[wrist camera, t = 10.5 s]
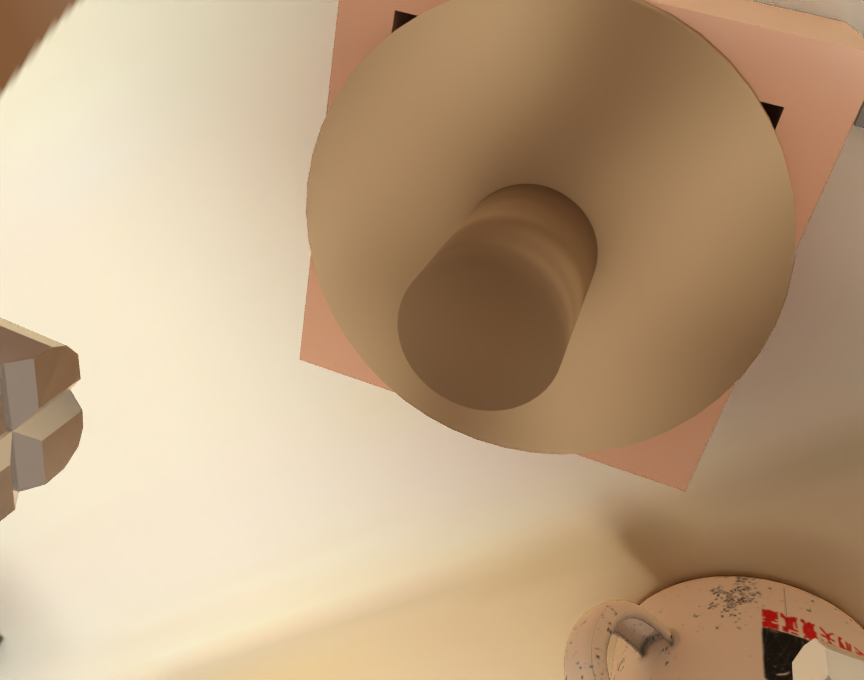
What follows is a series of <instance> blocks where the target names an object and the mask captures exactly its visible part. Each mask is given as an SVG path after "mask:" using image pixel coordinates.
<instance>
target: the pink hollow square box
mask: <svg viewBox="0 0 864 680" xmlns="http://www.w3.org/2000/svg"><path fill="white" fill-rule="evenodd" d="M448 1H450V0H339V5H338V14H337V23H336V32H335V41H334V50H333V59H332V69H331V78H330V87H329V96H328V105H327V114H328V111H329V109H330V107H331V105H332V103H333V101H334V99H335V98H336V96H337V95H338V93H339V91H340V90H341V88H342V87H343V85H344V84H345V82H346V81H347V79H348V78H349V76H350V75H351V73H352V72H353V71H354V70H355V69H356V68H357V67H358V65H359V64H360V63H361V62H362V61H363V60H364V59H365V57H366V56H367V55H368V54H369V53H370V52H371V51H372V50H373V49H374V48H375V47H376V46H378V45H379V44H380V43H381V42H382V41H383V40H385V39H386V38H387V37H388V36H389V35H390V34H392V33H393V32H394V31H395V30H396V29H398V28H400V27H401V26H403V25H404V24H406V23H408V22H409V21H411V20H412V19H414V18H415V17H417V16H419V15H420V14H422V13H423V12H425V11H428V10H430V9H432V8H434V7H437V6H439V5H441V4H443V3H446V2H448ZM644 1H646V2H648V3H650V4H652V5H654V6H656V7H658V8H660V9H662V10H665V11H667V12H669V13H671V14H673V15H674V16H676V17H677V18H678V19H680V20H681V21H683V22H684V23H686V24H687V25H689V26H690V27H692V28H693V29H695V30H696V31H698V32H699V33H701V34H702V35H703V36H704V37H705V38H706V39H708V40H709V41H710V42H711V43H712V44H713V45H714V46H715V47H716V48H717V49H718V50H720V51H721V52H722V53H723V54H724V55H725V56H726V57H727V58H728V59H729V60H730V61H731V62H732V63H733V65H734V66H735V67H736V68H737V70H738V71H739V72H740V73H741V75H742V76H743V77H744V78H745V80H746V81H747V82H748V83H749V84H750V86H751V87H752V89H753V90H754V92H755V94H756V95H757V97H758V99H759V100H760V102H761V104H762V106H763V107H764V109H765V111H766V112H767V114H768V116H769V117H770V120H771V122H772V125H773V127H774V130H775V132H776V135H777V137H778V140H779V142H780V145H781V147H782V150H783V154H784V158H785V162H786V166H787V170H788V174H789V179H790V183H791V187H792V191H793V196H794V208H795V220H796V241H795V250H796V248H797V245H798V243H799V241H800V239H801V237H802V234H803V232H804V230H805V228H806V226H807V223H808V221H809V219H810V217H811V215H812V212H813V210H814V208H815V206H816V204H817V202H818V199H819V197H820V195H821V193H822V191H823V188H824V186H825V184H826V182H827V180H828V177H829V175H830V173H831V171H832V169H833V166H834V164H835V162H836V160H837V158H838V155H839V153H840V151H841V149H842V147H843V145H844V142H845V140H846V138H847V136H848V134H849V131H850V129H851V127H852V125H853V123H854V120H855V118H856V116H857V114H858V112H859V109H860V107H861V105H862V103H863V101H864V37H863V36H861V35H860V34H859V33H858V32H857V31H856V30H854V29H853V28H852V27H851V26H850V25H849V24H848V23H846V22H843V21H838V20H834V19H830V18H825V17H821V16H816V15H812V14H808V13H803V12H799V11H794V10H790V9H786V8H781V7H777V6H772V5H768V4H764V3H759V2H755V1H750V0H644ZM327 114H326V116H327ZM300 360H303V361H306V362H308V363H311V364H314V365H317V366H320V367H323V368H326V369H329V370H332V371H335V372H338V373H341V374H344V375H346V376H349V377H352V378H355V379H358V380H361V381H364V382H367V383H370V384H373V385H376V386H379V387H382V388H384V389H387V390H390V391H393V390H392V389H391V388H390V387H388V386H387V385H386V384H385V383H384V382H383V381H382V380H381V379H380V378H379V377H378V376H377V375H376V374H375V373H374V372H373V371H372V370H371V369H370V368H369V367H368V365H367V364H366V363H365V362H364V361H363V359H362V358H361V357H360V356H359V354H358V353H357V352H356V350H355V349H354V348H353V347H352V345H351V344H350V343H349V341H348V340H347V338H346V336H345V335H344V333H343V331H342V330H341V328H340V326H339V325H338V323H337V322H336V320H335V318H334V316H333V314H332V312H331V310H330V308H329V305H328V303H327V301H326V299H325V297H324V295H323V292H322V289H321V286H320V283H319V280H318V277H317V274H316V271H315V268H314V264H313V259H312V254H311V259H310V268H309V278H308V287H307V296H306V305H305V314H304V323H303V332H302V341H301V350H300ZM733 386H734V384H733V385H732V386H731V387H730V388H729V389H728V390H727V391H726V392H725V393H724V394H723V395H722V396H721V397H720V398H719V399H717V400H716V401H715V402H713V403H712V404H711V405H709V406H708V407H707V408H705V409H704V410H703V411H701V412H700V413H699V414H697V415H696V416H694V417H693V418H691V419H689V420H687V421H686V422H684V423H682V424H680V425H679V426H677V427H675V428H673V429H671V430H669V431H667V432H665V433H662V434H660V435H657V436H655V437H652V438H650V439H648V440H645V441H642V442H639V443H635V444H631V445H628V446H624V447H621V448H617V449H611V450H605V451H598V452H592V453H579V454H577V455H580V456H583V457H586V458H589V459H592V460H595V461H598V462H601V463H604V464H607V465H610V466H612V467H615V468H618V469H621V470H624V471H627V472H630V473H633V474H636V475H639V476H642V477H645V478H648V479H650V480H653V481H656V482H659V483H662V484H665V485H668V486H671V487H674V488H677V489H680V490H683V491H686V489H687V486H688V484H689V482H690V480H691V478H692V475H693V473H694V471H695V469H696V467H697V465H698V462H699V460H700V458H701V456H702V454H703V451H704V449H705V447H706V445H707V443H708V440H709V438H710V436H711V434H712V432H713V429H714V427H715V425H716V423H717V421H718V418H719V416H720V414H721V412H722V410H723V408H724V405H725V403H726V401H727V399H728V397H729V394H730V392H731V390H732V388H733ZM393 392H394V391H393Z"/></svg>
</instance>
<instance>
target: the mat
mask: <svg viewBox="0 0 864 680" xmlns="http://www.w3.org/2000/svg"><path fill="white" fill-rule="evenodd" d="M853 124H854V125H855V126H859V127H863V128H864V101H863V103H862V105H861V107H860V109H859V112H858V114H857V116H856V118H855V120H854V123H853Z"/></svg>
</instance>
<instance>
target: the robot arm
mask: <svg viewBox="0 0 864 680" xmlns="http://www.w3.org/2000/svg"><path fill="white" fill-rule="evenodd" d="M80 379H81V378H80V369H79V359H78V354H77V353H75V352H74V351H73V350H72V349H70V348H69V347H68V346H66V345H64V344H61V343H59V342H57V341H54V340H52V339H50V338H47V337H45V336H42V335H40V334H38V333H35V332H33V331H31V330H28V329H26V328H24V327H21V326H19V325H16V324H14V323H12V322H9V321H7V320H5V319H2V318H0V521H1V520H2V519H4V518H5V517H6V516H7V515H8V514H10V513H11V512H12V511H13V510H15V507H16V503H17V498H18V493H19V491H23V490H27V489H30V488H34V487H38V486H41V485H45V484H46V483H48V482H49V481H50V480H51V479H52V478H53V477H55V476H56V475H57V474H58V473H59V472H60V471H62V470H63V469H64V468H65V466H66V465H67V463H68V462H69V460H70V458H71V457H72V455H73V454H74V452H75V451H76V449H77V447H78V446H79V441H80V437H81V433H82V429H83V413H82V409H81V407H80V405H79V404H78V402H77V400H76V399H75V397H74V395H73V393H72V392H71V390H70V389H71V388H72V387H73V386H74V385H75V384H76V383H77V382H78V381H79V380H80ZM792 672H793V680H864V656H861V655H858V654H856V653H853V652H850V651H848V650H845V649H843V648H840V647H837V646H835V645H832V644H830V643H827V642H824V641H822V640H819V639H816V638H814V639H813V640H811V641H810V642H808V643H807V644H805V645H804V646H803V648H802V649H801V650H800V652H799V653H798V655H797V656H796V658H795V659H794V660H793V662H792Z"/></svg>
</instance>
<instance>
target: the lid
mask: <svg viewBox="0 0 864 680" xmlns="http://www.w3.org/2000/svg"><path fill="white" fill-rule="evenodd" d="M306 215H307V227H308V239H309V245H310V249H311V254H312V259H313V264H314V268H315V271H316V274H317V277H318V280H319V283H320V286H321V289H322V292H323V295H324V297H325V299H326V301H327V303H328V305H329V308H330V310H331V312H332V314H333V316H334V318H335V320H336V322H337V323H338V325H339V326H340V328H341V330H342V331H343V333H344V335H345V336H346V338H347V340H348V341H349V343H350V344H351V345H352V347H353V348H354V349H355V350H356V352H357V353H358V354H359V356H360V357H361V358H362V359H363V361H364V362H365V363H366V364H367V365H368V367H369V368H370V369H371V370H372V371H373V372H374V373H375V374H376V375H377V376H378V377H379V378H380V379H381V380H382V381H383V382H384V383H385V384H386V385H387V386H388V387H390V388H391V389H392V390H393V391H394V392H396V393H397V394H398V395H399V396H400V397H401V398H403V399H404V400H405V401H406V402H408V403H409V404H411V405H412V406H414V407H415V408H417V409H418V410H420V411H421V412H423V413H424V414H425V415H427V416H429V417H430V418H432V419H434V420H436V421H438V422H440V423H442V424H443V425H445V426H447V427H449V428H451V429H453V430H455V431H458V432H460V433H463V434H465V435H468V436H470V437H472V438H475V439H477V440H481V441H484V442H488V443H491V444H494V445H498V446H501V447H505V448H510V449H516V450H522V451H527V452H534V453H548V454H579V453H592V452H598V451H605V450H611V449H617V448H621V447H624V446H628V445H631V444H635V443H639V442H642V441H645V440H648V439H650V438H652V437H655V436H657V435H660V434H662V433H665V432H667V431H669V430H671V429H673V428H675V427H677V426H679V425H680V424H682V423H684V422H686V421H687V420H689V419H691V418H693V417H694V416H696V415H697V414H699V413H700V412H701V411H703V410H704V409H705V408H707V407H708V406H709V405H711V404H712V403H713V402H715V401H716V400H717V399H719V398H720V397H721V396H722V395H723V394H724V393H725V392H726V391H727V390H728V389H729V388H730V387H731V386H732V385H733V384H734V383H735V382H736V381H737V380H738V379H739V378H740V377H741V376H742V375H743V374H744V372H745V371H746V370H747V368H748V367H749V366H750V365H751V363H752V362H753V361H754V359H755V358H756V357H757V355H758V354H759V353H760V351H761V349H762V348H763V346H764V344H765V342H766V341H767V339H768V337H769V335H770V333H771V332H772V330H773V328H774V326H775V324H776V322H777V319H778V317H779V314H780V311H781V309H782V306H783V304H784V301H785V298H786V296H787V292H788V288H789V283H790V279H791V274H792V270H793V265H794V255H795V241H796V220H795V208H794V196H793V191H792V187H791V183H790V179H789V174H788V170H787V166H786V162H785V158H784V154H783V150H782V147H781V145H780V142H779V140H778V137H777V135H776V132H775V130H774V127H773V125H772V122H771V120H770V117H769V116H768V114H767V112H766V111H765V109H764V107H763V106H762V104H761V102H760V100H759V99H758V97H757V95H756V94H755V92H754V90H753V89H752V87H751V86H750V84H749V83H748V82H747V81H746V80H745V78H744V77H743V76H742V75H741V73H740V72H739V71H738V70H737V68H736V67H735V66H734V65H733V63H732V62H731V61H730V60H729V59H728V58H727V57H726V56H725V55H724V54H723V53H722V52H721V51H720V50H718V49H717V48H716V47H715V46H714V45H713V44H712V43H711V42H710V41H709V40H708V39H706V38H705V37H704V36H703V35H702V34H701V33H699V32H698V31H696V30H695V29H693V28H692V27H690V26H689V25H687V24H686V23H684V22H683V21H681V20H680V19H678V18H677V17H676V16H674V15H673V14H671V13H669V12H667V11H665V10H662V9H660V8H658V7H656V6H654V5H652V4H650V3H648V2H646V1H644V0H450V1H448V2H446V3H443V4H441V5H439V6H437V7H434V8H432V9H430V10H428V11H425V12H423V13H422V14H420V15H419V16H417V17H415V18H414V19H412V20H411V21H409V22H408V23H406V24H404V25H403V26H401V27H400V28H398V29H396V30H395V31H394V32H393V33H392V34H390V35H389V36H388V37H387V38H386V39H385V40H383V41H382V42H381V43H380V44H379V45H378V46H376V47H375V48H374V49H373V50H372V51H371V52H370V53H369V54H368V55H367V56H366V57H365V59H364V60H363V61H362V62H361V63H360V64H359V65H358V67H357V68H356V69H355V70H354V71H353V72H352V73H351V75H350V76H349V78H348V79H347V81H346V82H345V84H344V85H343V87H342V88H341V90H340V91H339V93H338V95H337V96H336V98H335V99H334V101H333V103H332V105H331V107H330V109H329V111H328V114H327V116H326V118H325V120H324V122H323V124H322V126H321V129H320V132H319V136H318V139H317V142H316V145H315V148H314V151H313V155H312V160H311V166H310V172H309V177H308V183H307V205H306Z"/></svg>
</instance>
